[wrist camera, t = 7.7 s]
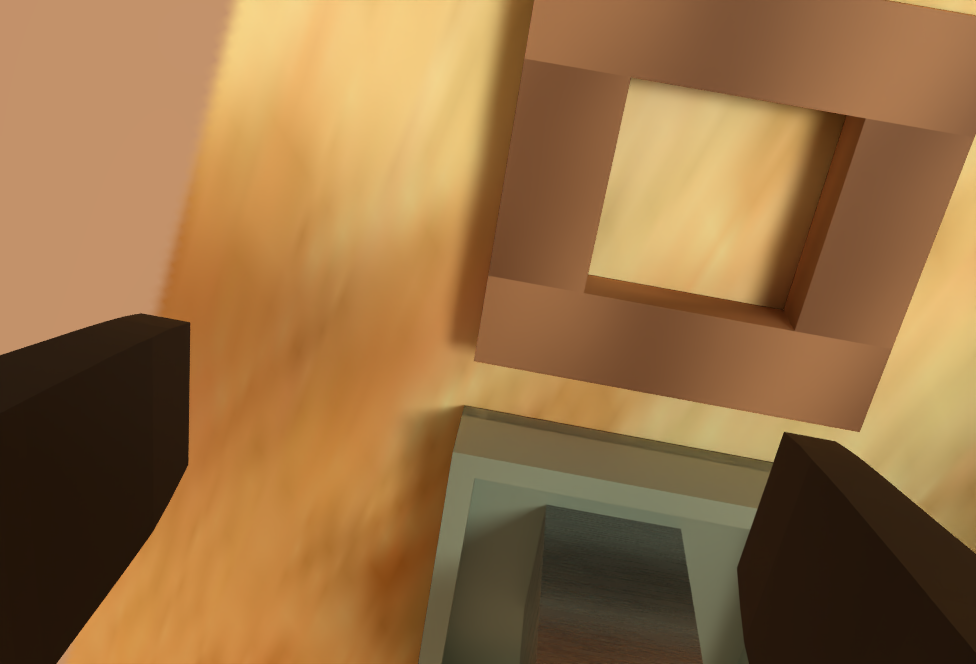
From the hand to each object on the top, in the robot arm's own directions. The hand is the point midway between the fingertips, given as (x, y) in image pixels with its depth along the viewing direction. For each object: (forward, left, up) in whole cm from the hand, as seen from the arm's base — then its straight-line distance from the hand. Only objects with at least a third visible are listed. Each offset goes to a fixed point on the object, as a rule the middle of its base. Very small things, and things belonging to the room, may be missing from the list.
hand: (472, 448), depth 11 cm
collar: (-4, -1, -10) cm, 11 cm away
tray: (-4, +10, -10) cm, 15 cm away
